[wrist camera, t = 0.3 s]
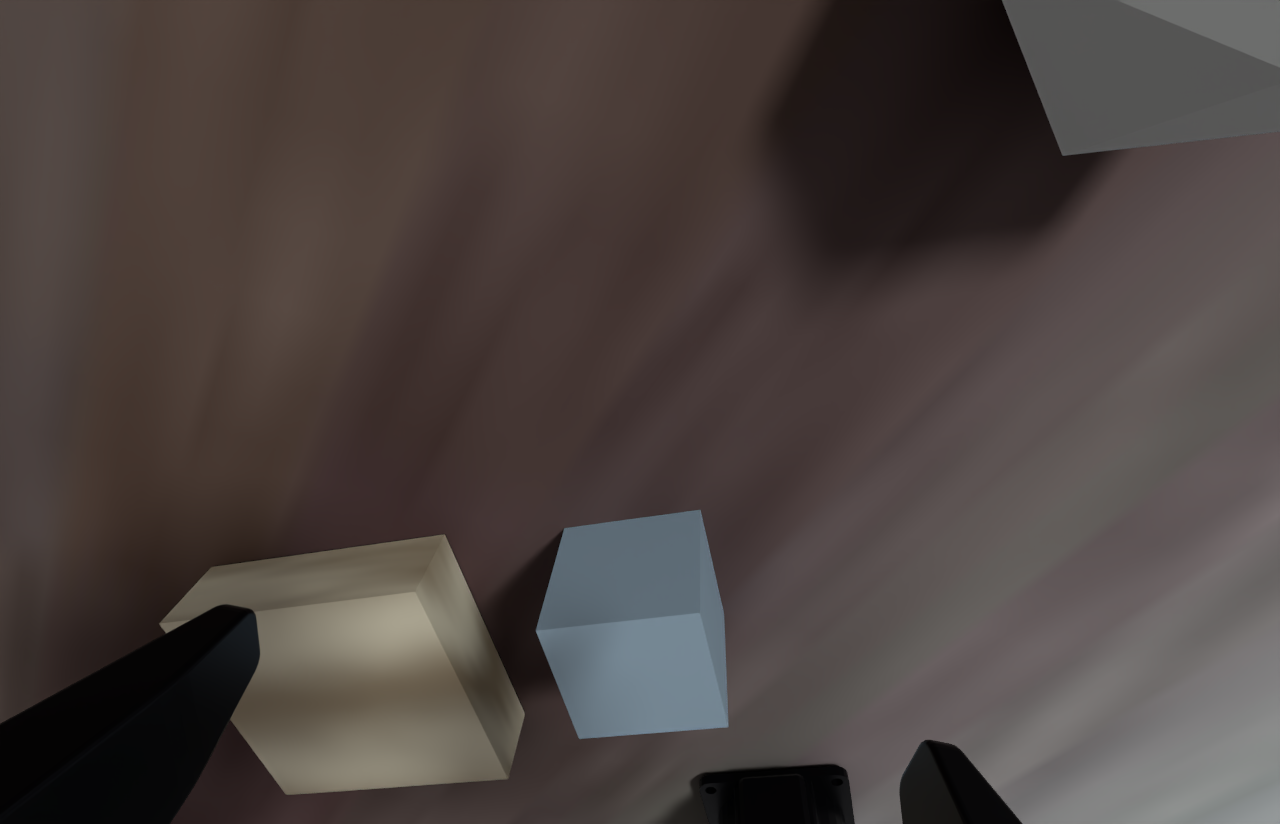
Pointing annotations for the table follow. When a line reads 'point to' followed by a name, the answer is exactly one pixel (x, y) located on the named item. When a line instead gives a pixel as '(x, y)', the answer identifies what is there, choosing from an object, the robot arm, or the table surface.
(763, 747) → the table surface
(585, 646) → the slate block
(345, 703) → the maple base
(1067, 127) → the die
